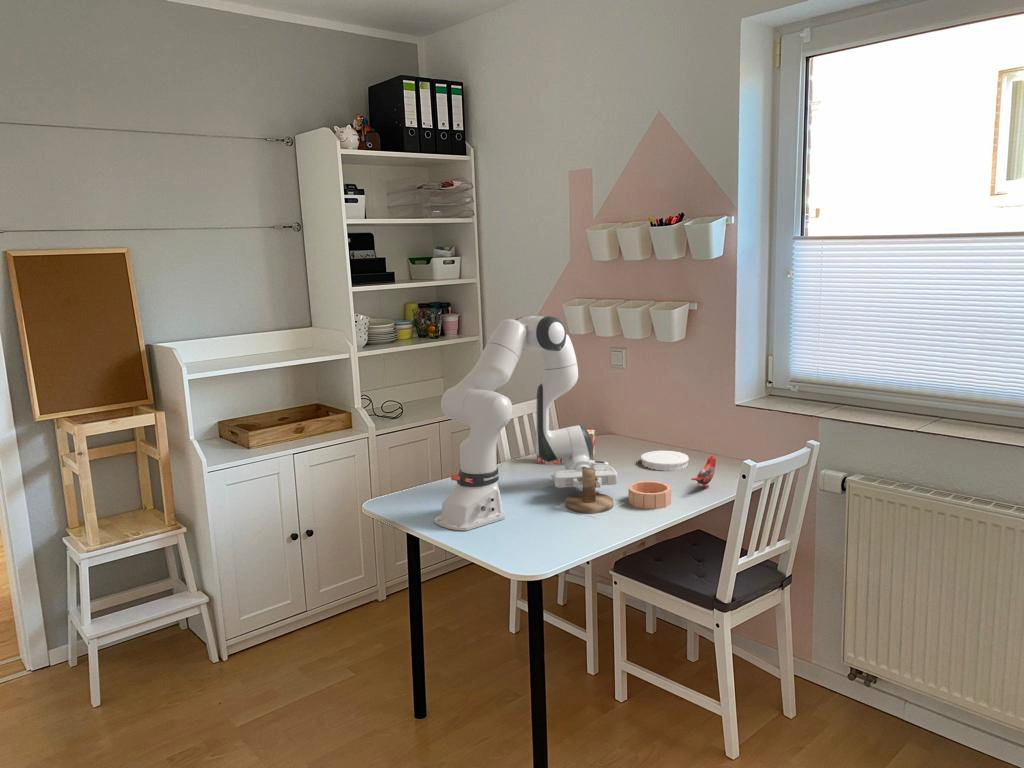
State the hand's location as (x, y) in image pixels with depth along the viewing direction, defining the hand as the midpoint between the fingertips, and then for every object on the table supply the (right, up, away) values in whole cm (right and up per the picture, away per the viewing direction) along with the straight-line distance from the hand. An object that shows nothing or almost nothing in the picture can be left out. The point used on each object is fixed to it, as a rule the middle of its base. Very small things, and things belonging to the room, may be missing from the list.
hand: (589, 485), depth 239 cm
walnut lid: (0, -6, +2) cm, 7 cm away
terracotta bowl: (+19, -6, +4) cm, 20 cm away
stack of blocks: (-4, +2, +50) cm, 51 cm away
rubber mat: (0, -7, +2) cm, 7 cm away
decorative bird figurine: (+39, -3, +14) cm, 41 cm away
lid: (+32, +2, +45) cm, 55 cm away
